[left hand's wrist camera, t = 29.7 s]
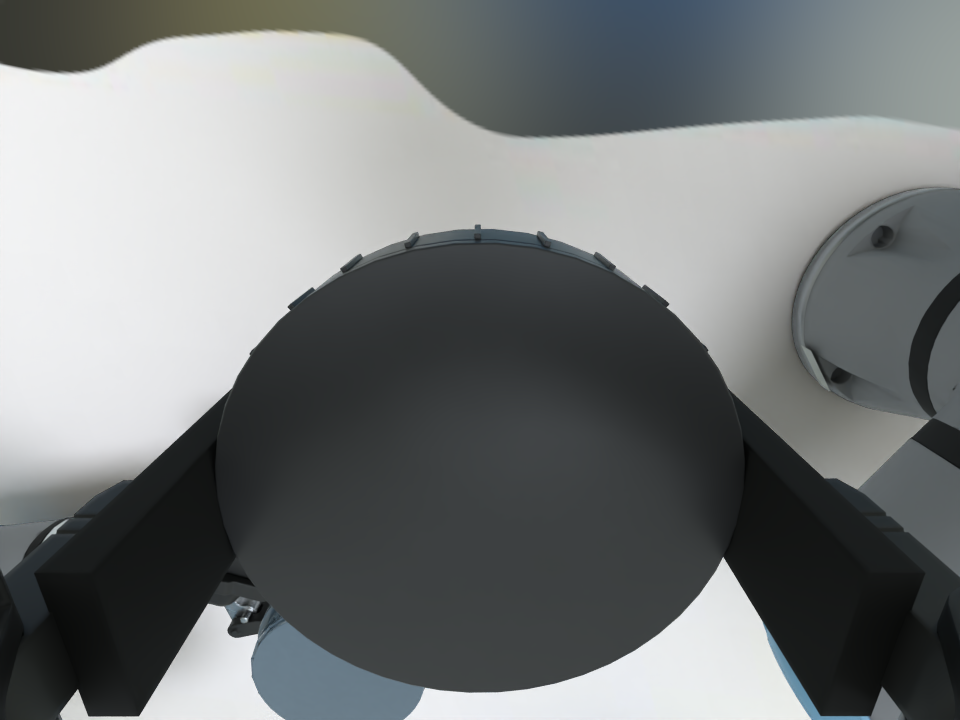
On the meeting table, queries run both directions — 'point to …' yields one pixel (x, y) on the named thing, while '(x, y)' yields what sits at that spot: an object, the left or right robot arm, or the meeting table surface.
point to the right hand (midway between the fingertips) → (442, 523)
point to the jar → (321, 680)
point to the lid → (479, 463)
